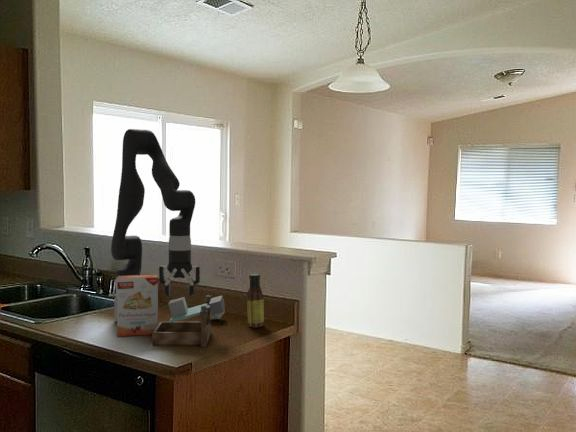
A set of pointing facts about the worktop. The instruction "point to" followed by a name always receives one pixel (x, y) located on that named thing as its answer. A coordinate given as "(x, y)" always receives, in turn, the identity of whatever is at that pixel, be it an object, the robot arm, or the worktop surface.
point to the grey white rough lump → (217, 315)
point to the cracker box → (137, 305)
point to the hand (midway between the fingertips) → (179, 295)
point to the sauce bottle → (255, 302)
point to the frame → (184, 331)
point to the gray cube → (178, 307)
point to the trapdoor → (214, 305)
